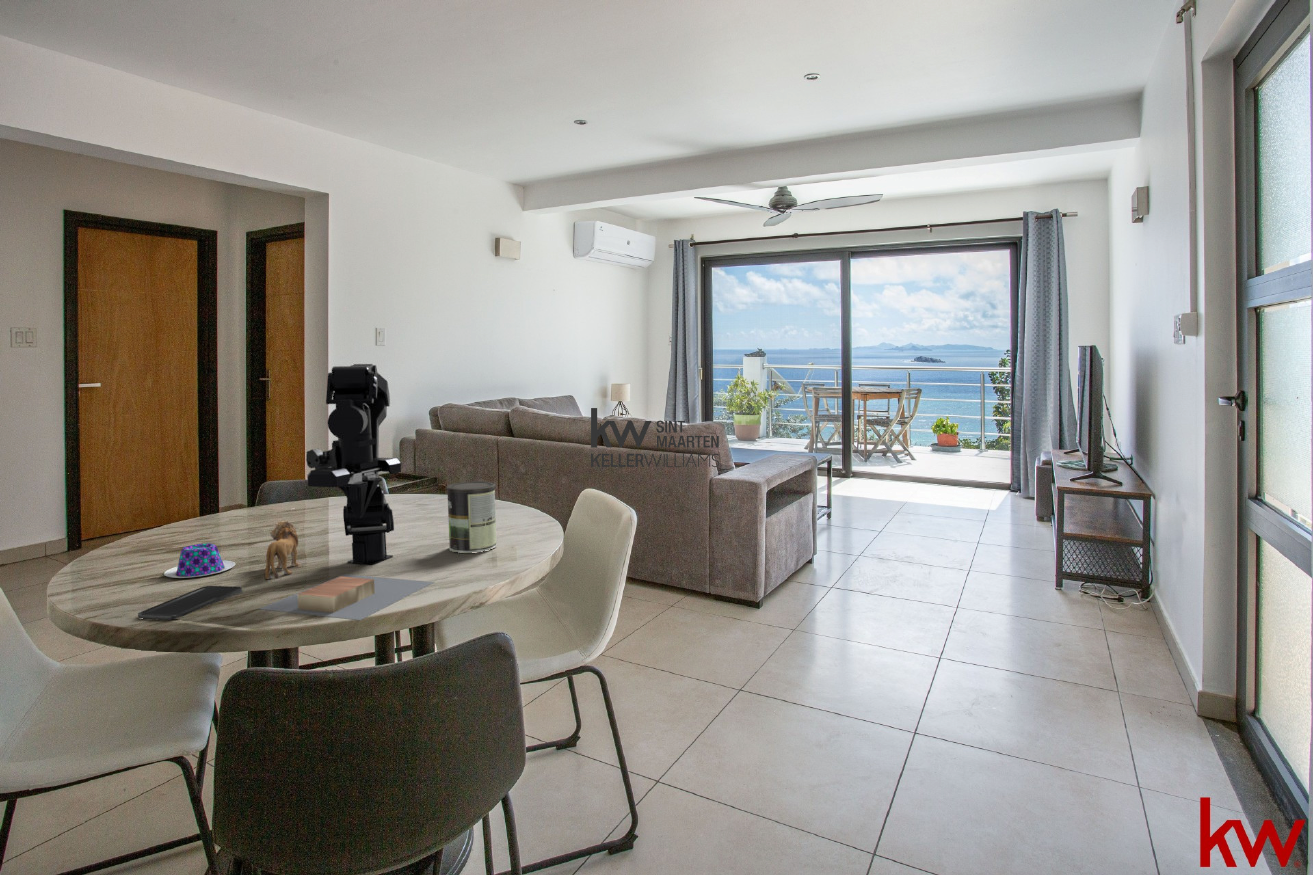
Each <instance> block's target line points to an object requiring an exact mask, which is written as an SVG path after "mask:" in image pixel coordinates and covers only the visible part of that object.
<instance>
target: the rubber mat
mask: <svg viewBox="0 0 1313 875" xmlns="http://www.w3.org/2000/svg"><path fill="white" fill-rule="evenodd" d="M340 576H342V577H354V578H365V579H374V589H375V593H374V594H372V595H370V596H368V597H366V598H364V599H362V600H360V601H357V602H355V603H353V604H351V605H349V606H347V607H345V608H343V609H340V610H338V611H336V612H334V613H332V612H322V611H313V610H304V609H298V596H297V594H299V593H301V592H304V591H306V590H308V589H311V588H313V587H316V586H318V585H321V584H323V583H326V582H328V581H331V580H333V579H336V578H338V577H340ZM433 584H435V581H426V580H425V581H424V580H415V579H404V578H393V577H384V576H383V577H382V576H381V577H380V576H368V575H359V574H357V575H356V574H346V573H345V574H341V575H338V576H336V577H334V578H331V579H329V580H327V581H325V582H321V583H319V584H316V585H314V586H312V587H309V588H307V589H305V590H302V591H299V592H297V593H296V592H295V593H294V594H292V595H290V596H287V597H285V598H282V599H280V600H277V601H274V602H272V603H270V604H266V605H264V606H262V607H260V608H258V610H263V611H264V610H265V611H272V612H273V611H274V612H281V613H282V612H283V613H291V614H299V615H308V616H309V615H310V616H318V617H325V618H326V617H327V618H337V619H345V620H346V619H347V620H354V621H362V620H364V619H366V618H368V617H369V616H371V615H373V614H376V613H377V612H379V611H381V610H383V609H385V608H387V607H389V606H391V605H393V604H395V603H397V602H399V601H401V600H403V599H404V598H407V597H409V596H410V595H413V594H415V593H416V592H418V591H421V590H423V589H425V588H426V587H428V586H431V585H433Z"/></svg>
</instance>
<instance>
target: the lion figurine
mask: <svg viewBox="0 0 1313 875" xmlns="http://www.w3.org/2000/svg"><path fill="white" fill-rule="evenodd" d="M269 534H270V537H271V538H272V539H273V541H272V542H271V543H270V544H269V545H268V547H267V549H266V550H267V551H266V556H265V557H266V562H265V563H266V564H265V568H264V572H265V576H264V579H265V580H271V579H272V577H273V576H274V579H276V580H278V579H279V574H278V573H277V571H276V568H277V569H282V571H283V574H285V575H291V574H292V573H293V572H292V570H289V569H288V567H287V565H288V556H290V555H291V563H290V565H291V566H292V567H298V566H299V564H300V563H299V562H297V560H298V549H297V547H298V546H299V537H298V534H297V530H296V528H295V527H294V525H293V523H292V522H289V521H287V520H283V521H282V520H281V521H278V522H277V524H276V525H275V528H274V529H273V530H271V531H270V532H269ZM275 557H276V558H277V562H278V565H276V567H275V561H274V560H275ZM271 571H272V573H273V576H272V575H271Z"/></svg>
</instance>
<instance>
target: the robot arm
mask: <svg viewBox="0 0 1313 875" xmlns="http://www.w3.org/2000/svg"><path fill="white" fill-rule="evenodd" d="M326 381H327V383H326V384H327V385H326V399H325V404H326V405H335V408H334V409H333V410H332V411H331V412H330V413H329V415H328V418H327V428H328V430H329V432H330V433H331V434H332V435H333V436H334V437H336V438H337V439H336V440H335V439H334V440H332V443H331V449H328V450H325V451H323V450H321V449H320V448H315V449H310V450H308V451H306V457H305V458H306V459H305V460H306V464H307V465H306V466H307V467H308V468H310V469H313V470H310V471H309V472H308V474H307V475H306V477H307V487H316V488H318V487H319V488H338V489H340V490H341V491H342V492H343V493H344V495H345V497H346V505H343V510H342V511H343V512H342V514H343V515H342V516H343V526H344V533H345V536H346V537H348V536H351V538H352V543H351V549H352V550H351V551H352V552H351V553H352V554H351V555H352V559H350V560H347V564H354V565H365V566H367V565H369V566H374V565H377V564H380V563H383V562H384V561H387V560H389V559H391V558H394V555H392V554H388V553H387V536H386V534H387V533H390V532H393V531H395V524H394V523H395V522H394V514H393V513H394V512H393V509H392V508H391V507H390V503H387V499H386V496H385V493H384V491H383V489H382V488H381V486H379V484H380V482H382V481H383V478H382V477H379V472H383V473H384V472H387V473H389V474H390V475H394V474H399V473H402V466H401V465H402V462H401V461H400V460H399V459H398V458H397V457H379V451H380V450H379V447H380V446H379V445H380V444H379V440H380V439H379V438H380V436H379V435H380V434H379V433H380V431H379V428H380V426H381V424H382V423H383V422H384V420H385V419H386V418H387V417H388V416H387V412H388V411H387V409H388V408H387V407H390V404H391V402H390V401H391V398H390V397H391V396H390V389H389V383H388V380H387V379H385V377H383V376H382V375H381V374H380V373H378V368H377V365H376V364H373V363H353V365H352V364H351V365H348V366H343V365H342V366H341V365H340V366H339V365H337V366H333V367H331V372H328V373H327V380H326Z"/></svg>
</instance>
